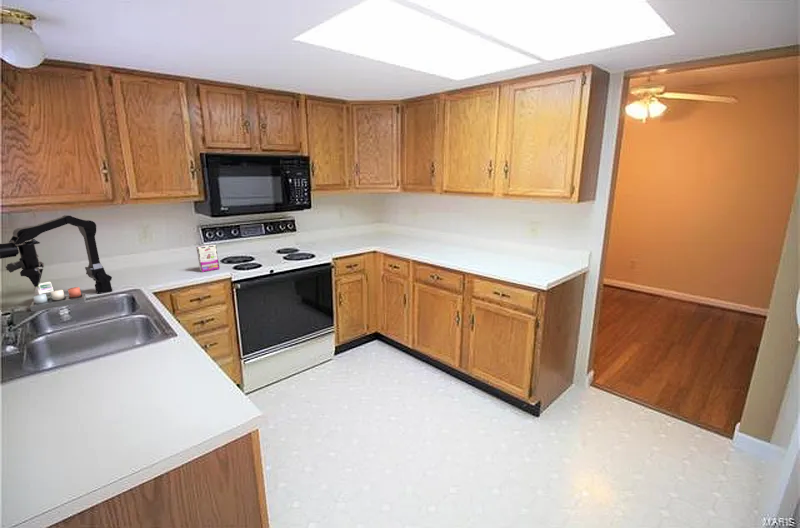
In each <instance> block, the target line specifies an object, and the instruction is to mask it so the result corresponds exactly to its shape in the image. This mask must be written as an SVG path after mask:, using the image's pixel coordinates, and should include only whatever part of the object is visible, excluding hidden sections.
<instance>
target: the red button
mask: <svg viewBox="0 0 800 528" xmlns="http://www.w3.org/2000/svg"><path fill="white" fill-rule="evenodd" d="M67 291H68V295H69V296H70V298H73V297H79V296H81V293H82V291H81V287H79V286H78V287H77V286H75V287H70V288H68V289H67Z"/></svg>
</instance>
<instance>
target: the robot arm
mask: <svg viewBox="0 0 800 528" xmlns="http://www.w3.org/2000/svg"><path fill="white" fill-rule="evenodd" d="M66 225H71V226H73V227H77V229H78V231H79V233H80V234H81V236H82V237H83V240H84V246H85V249H86V250H85V251H86V255H87V260H88V265H87V266H85V267H84V269H85V271H86V272H85V273H86V274H85V275H87V276H88V277H89V278H90V279H92V280H93V281H95V283H94V289H95V292H96V293H97V295H98V294H104V293H110V292H113V287H112V283H111V281H112V280H113V279H112V278H113V276H111V275H109V274H108V273H107V272H106V269H105V268H104V266H103V265H102V264H101V262H100V257H99V252H98V247H97V241H96V235H97V224H96V222H95V221H93V220H90V219H81V218H78V217H76V216H75V217H74V216H72V215H67V214H64V215H62V216H60V217H57V218H55V219H54V218H53V219H51V220H48V221H44V222H42V223H41V222H40V223H38V224H36V225H29V226H22V227H17V228H16V229H14V230H13V231H12V237H11V238H10V239H9V240H8V242H4V243H0V260H1V259H7V258H15V257H17V255H19V256H20V258H19V260H18V261H17V260H16V261H14V262H10V263H7V264H6V265H5V268H6V269H5V270H6V271H8V272H9V273H14V271H17V270H19V269H21V271H19V275H20V277H26V278H28V279H29V281H30V283H32V285H33V287H34V288H35V287H38V285H39V283H41V280H42V279H41V278H42V275H43V271H44V268H45V265H44V262H42V261H39V254H38V253H37V249H36V245H39V244H41V242H40V241H38V240H36V239H35V238H36V237H38V236H39V235H41V234H43V233H46V232H48V231H51V230H55V229H57V228H60V227H63V226H66Z"/></svg>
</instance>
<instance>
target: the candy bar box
mask: <svg viewBox="0 0 800 528" xmlns="http://www.w3.org/2000/svg"><path fill="white" fill-rule="evenodd" d="M195 248H196V249H195V250H196V252H197V261H198V266H199V271H200V272H201V273H204V272H205V273H207V272H212V271H217V270H220V261H219V257H218V256H219V255H218V250H217V245H216V244H210V245H209V244H207V245H201V246H196V247H195Z"/></svg>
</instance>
